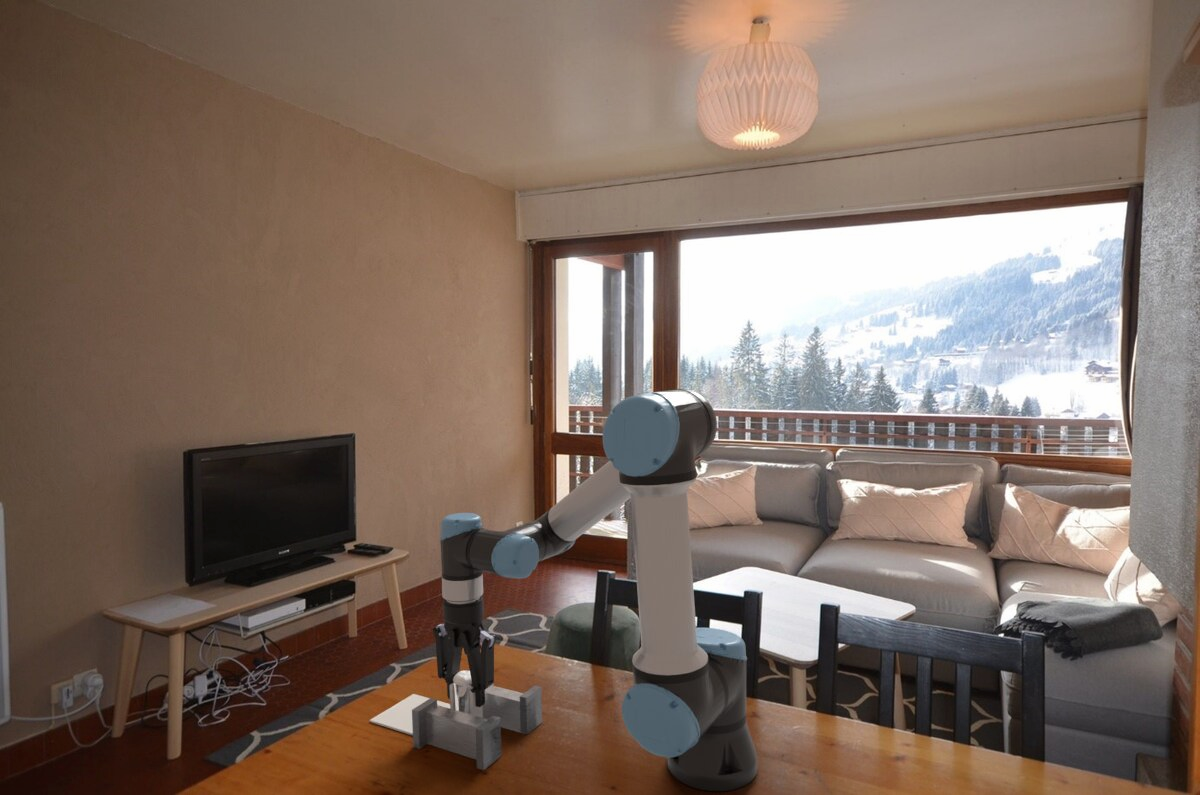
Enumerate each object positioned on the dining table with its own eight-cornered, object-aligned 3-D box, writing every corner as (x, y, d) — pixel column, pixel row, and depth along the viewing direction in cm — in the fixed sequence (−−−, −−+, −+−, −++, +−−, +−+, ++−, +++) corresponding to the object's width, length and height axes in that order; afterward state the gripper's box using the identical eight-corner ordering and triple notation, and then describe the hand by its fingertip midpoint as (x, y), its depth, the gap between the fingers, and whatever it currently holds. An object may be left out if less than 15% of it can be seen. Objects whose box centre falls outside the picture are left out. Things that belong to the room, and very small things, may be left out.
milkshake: (476, 727, 135) (476, 676, 134) (448, 724, 136) (449, 672, 136) (484, 715, 140) (485, 664, 139) (458, 711, 141) (458, 661, 140)
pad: (458, 708, 147) (458, 706, 147) (416, 736, 136) (416, 734, 136) (413, 695, 153) (413, 693, 153) (369, 721, 142) (369, 719, 142)
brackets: (542, 722, 141) (541, 686, 140) (483, 770, 125) (482, 730, 125) (476, 704, 149) (474, 670, 148) (413, 747, 133) (411, 709, 132)
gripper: (512, 598, 136) (515, 720, 137) (441, 584, 144) (444, 700, 146) (487, 611, 129) (491, 739, 131) (414, 596, 137) (418, 717, 139)
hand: (466, 718), depth 138 cm, fingers closed on milkshake, 4 cm apart
